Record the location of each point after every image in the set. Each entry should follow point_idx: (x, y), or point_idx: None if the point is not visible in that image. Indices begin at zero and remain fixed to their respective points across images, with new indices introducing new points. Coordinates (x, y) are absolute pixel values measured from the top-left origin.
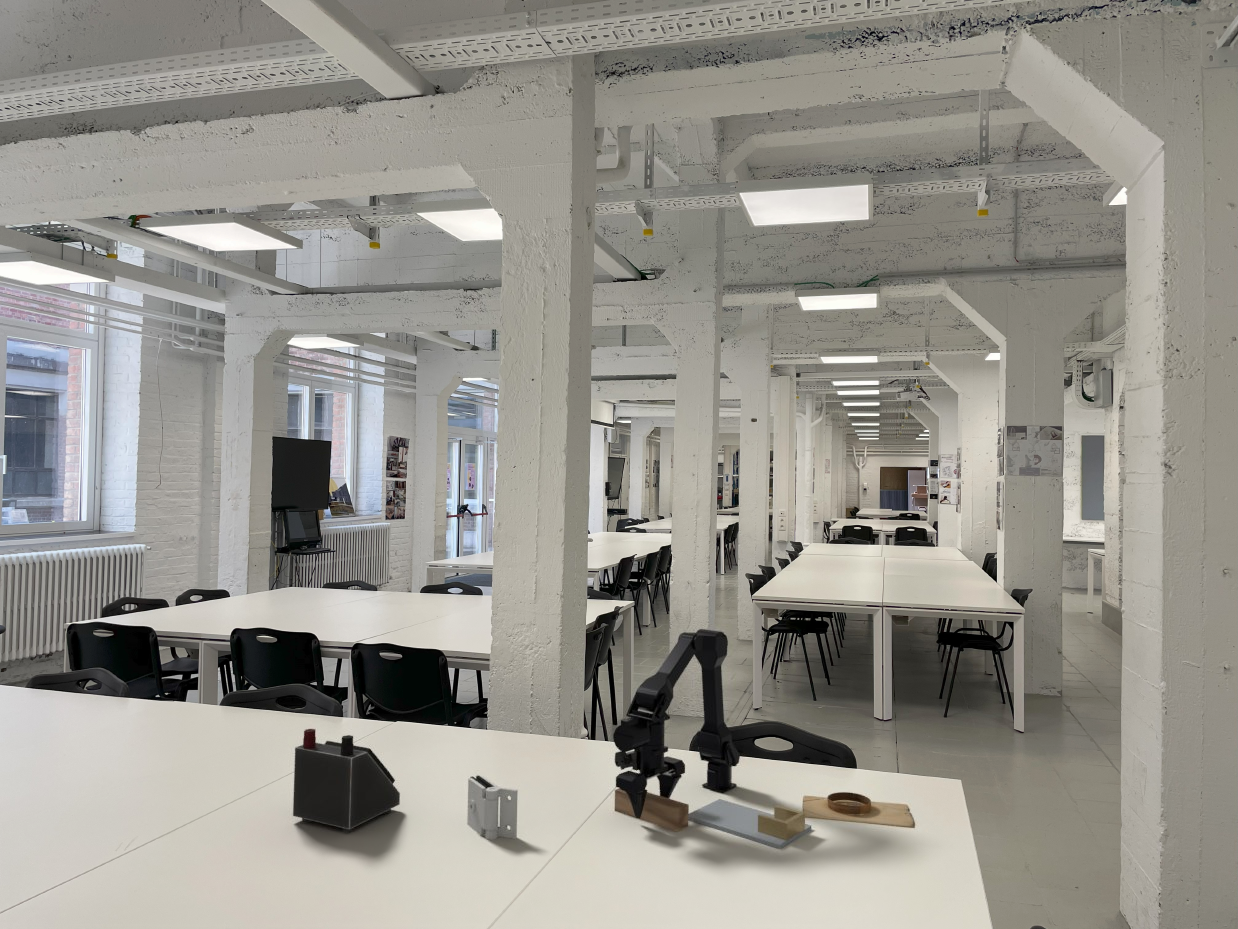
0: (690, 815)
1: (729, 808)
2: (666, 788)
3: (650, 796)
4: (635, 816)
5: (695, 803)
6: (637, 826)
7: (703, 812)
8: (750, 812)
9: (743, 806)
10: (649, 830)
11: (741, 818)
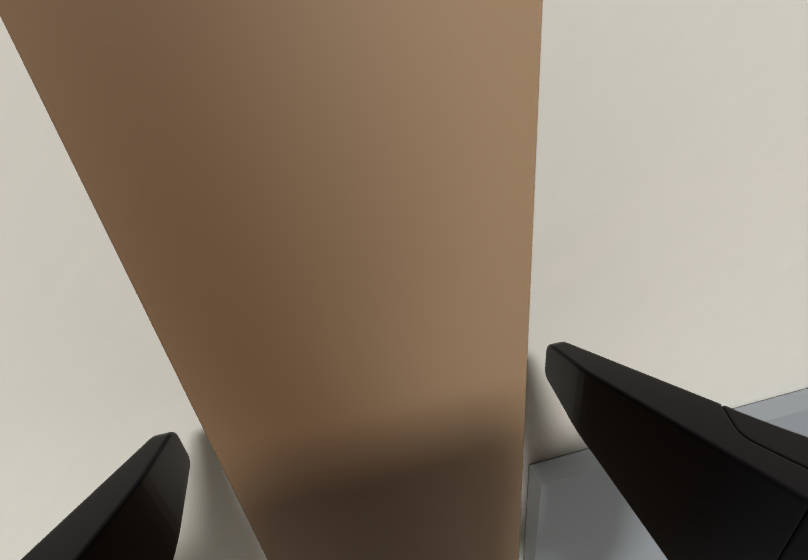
0: (558, 496)
1: None
2: (703, 544)
3: (419, 528)
4: (148, 442)
5: (786, 319)
6: (163, 430)
7: None
8: None
9: None
10: (208, 508)
11: None
